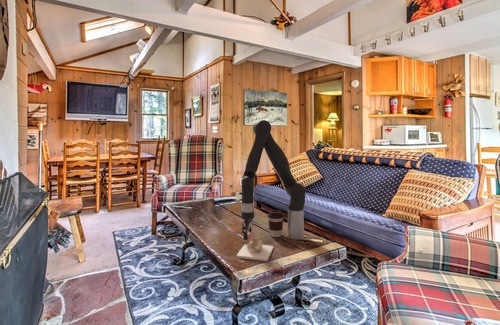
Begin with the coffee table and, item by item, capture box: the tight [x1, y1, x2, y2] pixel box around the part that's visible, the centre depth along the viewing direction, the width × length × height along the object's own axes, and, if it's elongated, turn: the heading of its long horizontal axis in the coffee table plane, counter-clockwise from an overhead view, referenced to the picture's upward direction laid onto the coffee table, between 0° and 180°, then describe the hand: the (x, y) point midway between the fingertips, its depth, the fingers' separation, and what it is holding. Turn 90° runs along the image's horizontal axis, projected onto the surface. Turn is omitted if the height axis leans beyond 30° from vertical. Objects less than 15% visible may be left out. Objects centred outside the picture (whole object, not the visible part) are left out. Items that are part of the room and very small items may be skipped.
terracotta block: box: [242, 230, 255, 244], centre depth 159 cm, size 5×5×5 cm
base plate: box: [236, 243, 274, 262], centre depth 144 cm, size 16×16×1 cm
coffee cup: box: [267, 209, 285, 238], centre depth 167 cm, size 10×10×15 cm
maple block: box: [249, 238, 263, 253], centre depth 143 cm, size 6×6×5 cm
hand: (247, 237), depth 159 cm, fingers open, 8 cm apart
